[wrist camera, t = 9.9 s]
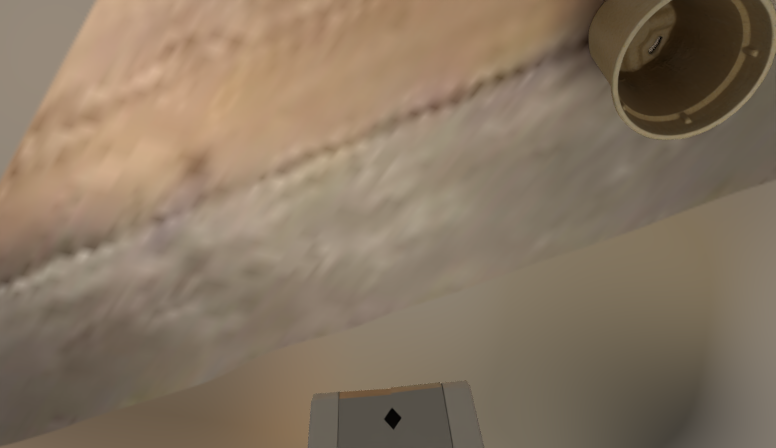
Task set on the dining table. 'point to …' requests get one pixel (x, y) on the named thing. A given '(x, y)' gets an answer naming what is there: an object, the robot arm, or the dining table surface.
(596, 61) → the flower pot
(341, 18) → the dining table surface
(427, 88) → the dining table surface
